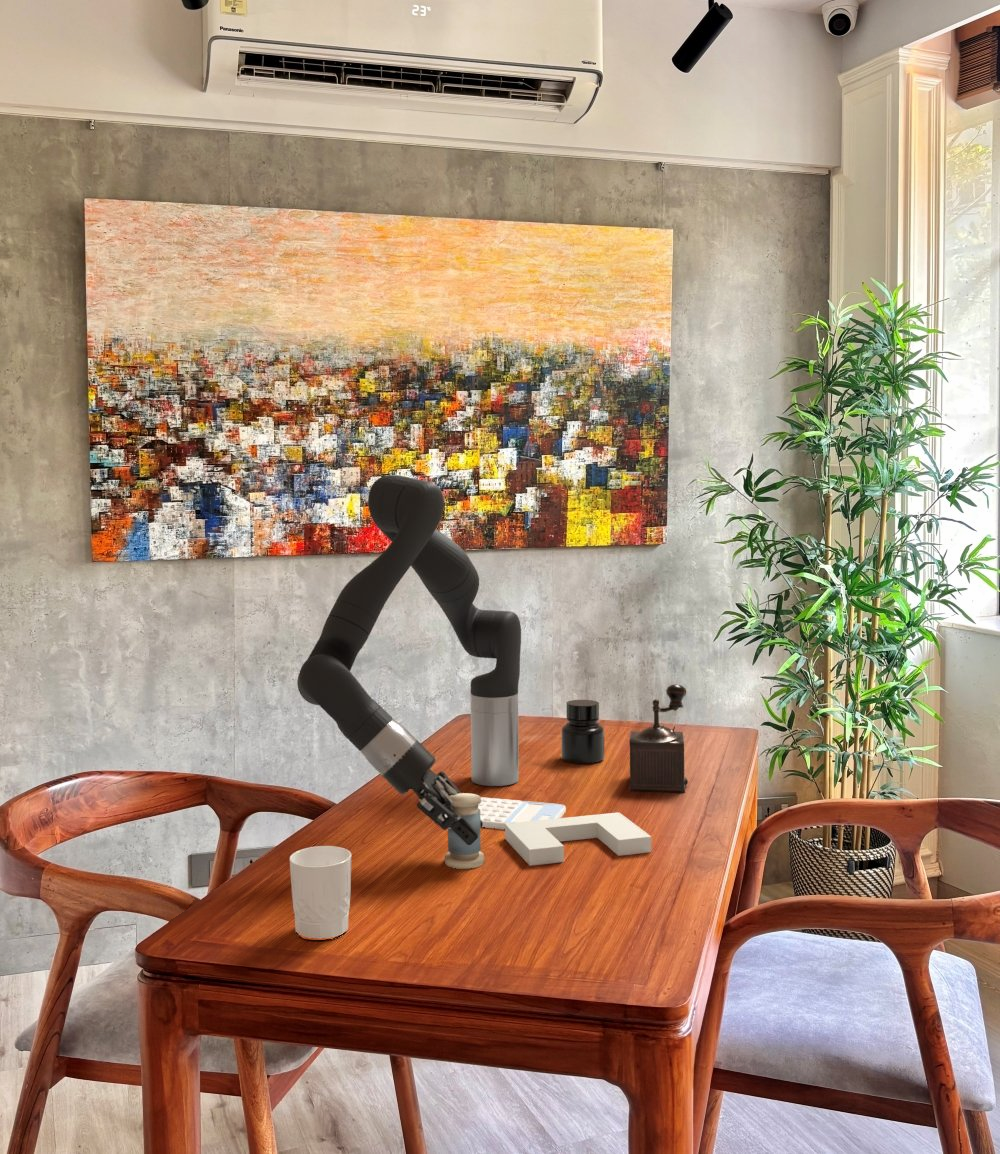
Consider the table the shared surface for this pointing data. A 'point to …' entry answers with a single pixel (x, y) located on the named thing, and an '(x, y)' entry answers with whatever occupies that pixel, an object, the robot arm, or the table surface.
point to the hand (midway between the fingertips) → (476, 834)
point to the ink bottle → (582, 733)
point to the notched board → (575, 836)
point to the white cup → (321, 890)
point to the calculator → (515, 811)
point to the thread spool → (458, 849)
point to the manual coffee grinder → (659, 752)
